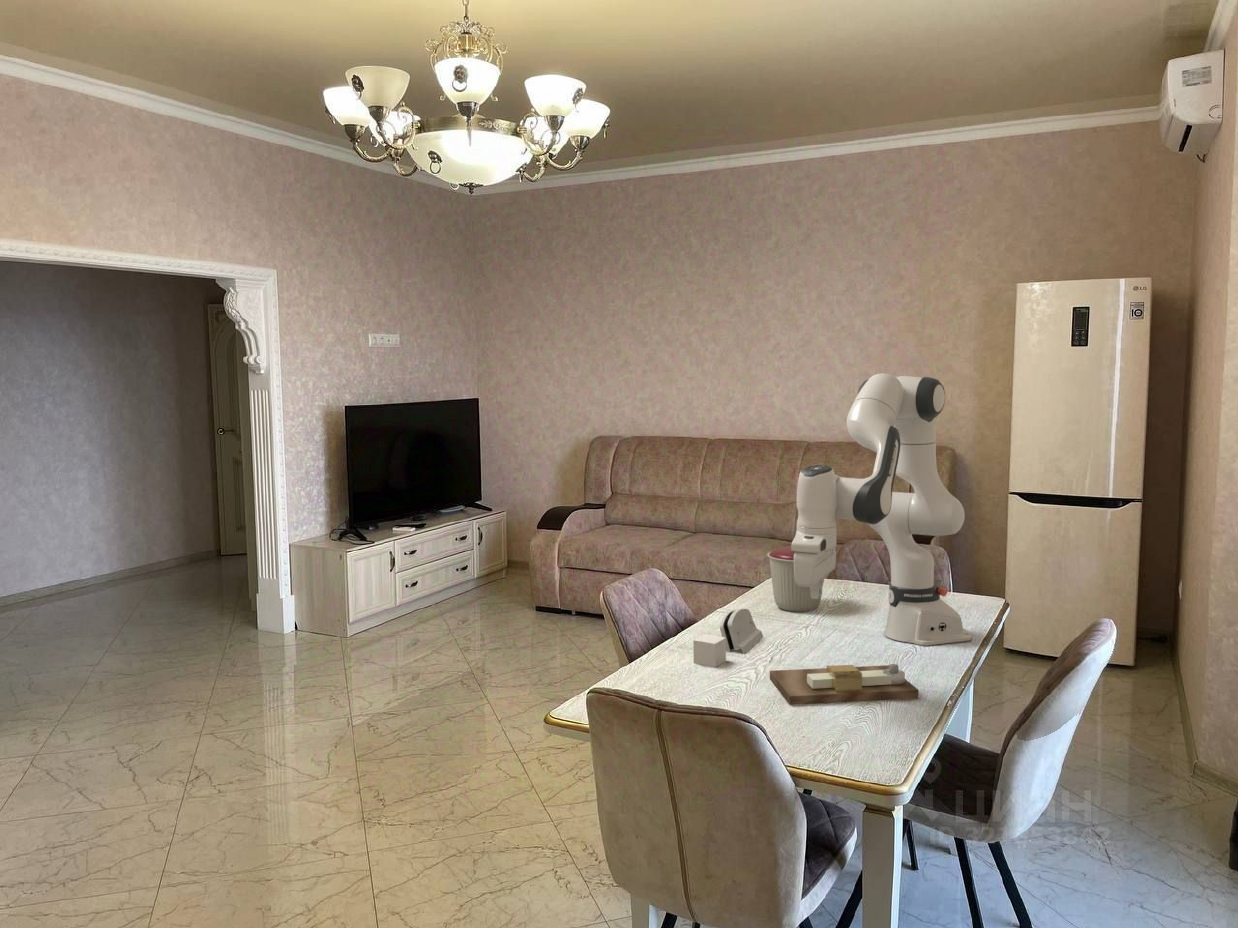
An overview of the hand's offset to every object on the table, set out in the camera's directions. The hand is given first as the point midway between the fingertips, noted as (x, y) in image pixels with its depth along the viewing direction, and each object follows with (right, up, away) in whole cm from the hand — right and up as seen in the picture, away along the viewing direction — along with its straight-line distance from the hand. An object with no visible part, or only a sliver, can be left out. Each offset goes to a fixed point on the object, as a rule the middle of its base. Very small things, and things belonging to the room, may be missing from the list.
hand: (816, 597), depth 210 cm
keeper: (+5, -19, -4) cm, 21 cm away
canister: (+9, -14, +71) cm, 72 cm away
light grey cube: (-22, -19, +21) cm, 36 cm away
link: (+9, -19, -3) cm, 21 cm away
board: (+6, -21, 0) cm, 22 cm away
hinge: (-13, -18, +36) cm, 42 cm away
